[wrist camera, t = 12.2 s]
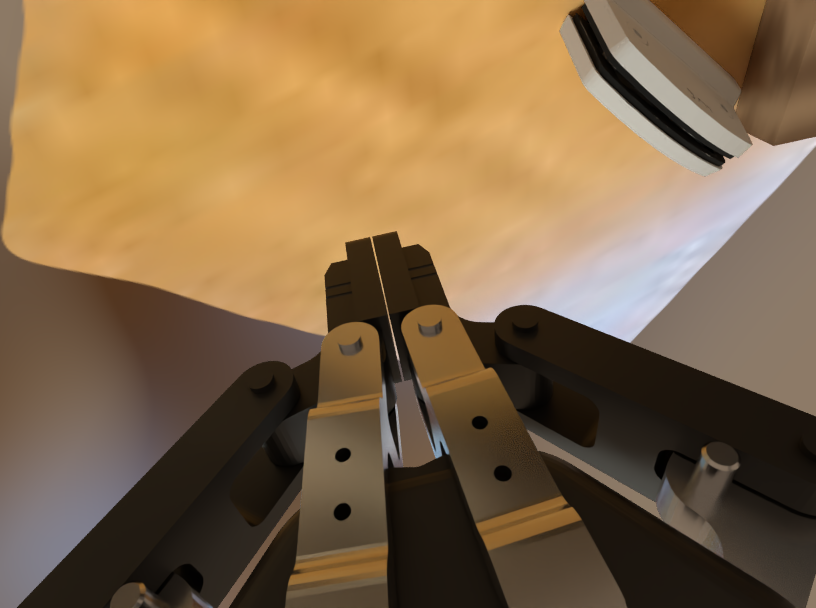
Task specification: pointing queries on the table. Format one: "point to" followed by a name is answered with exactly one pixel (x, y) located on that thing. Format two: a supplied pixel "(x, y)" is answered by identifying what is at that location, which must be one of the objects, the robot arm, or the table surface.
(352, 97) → the table surface
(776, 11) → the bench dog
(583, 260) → the table surface
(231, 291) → the table surface
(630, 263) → the table surface
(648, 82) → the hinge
